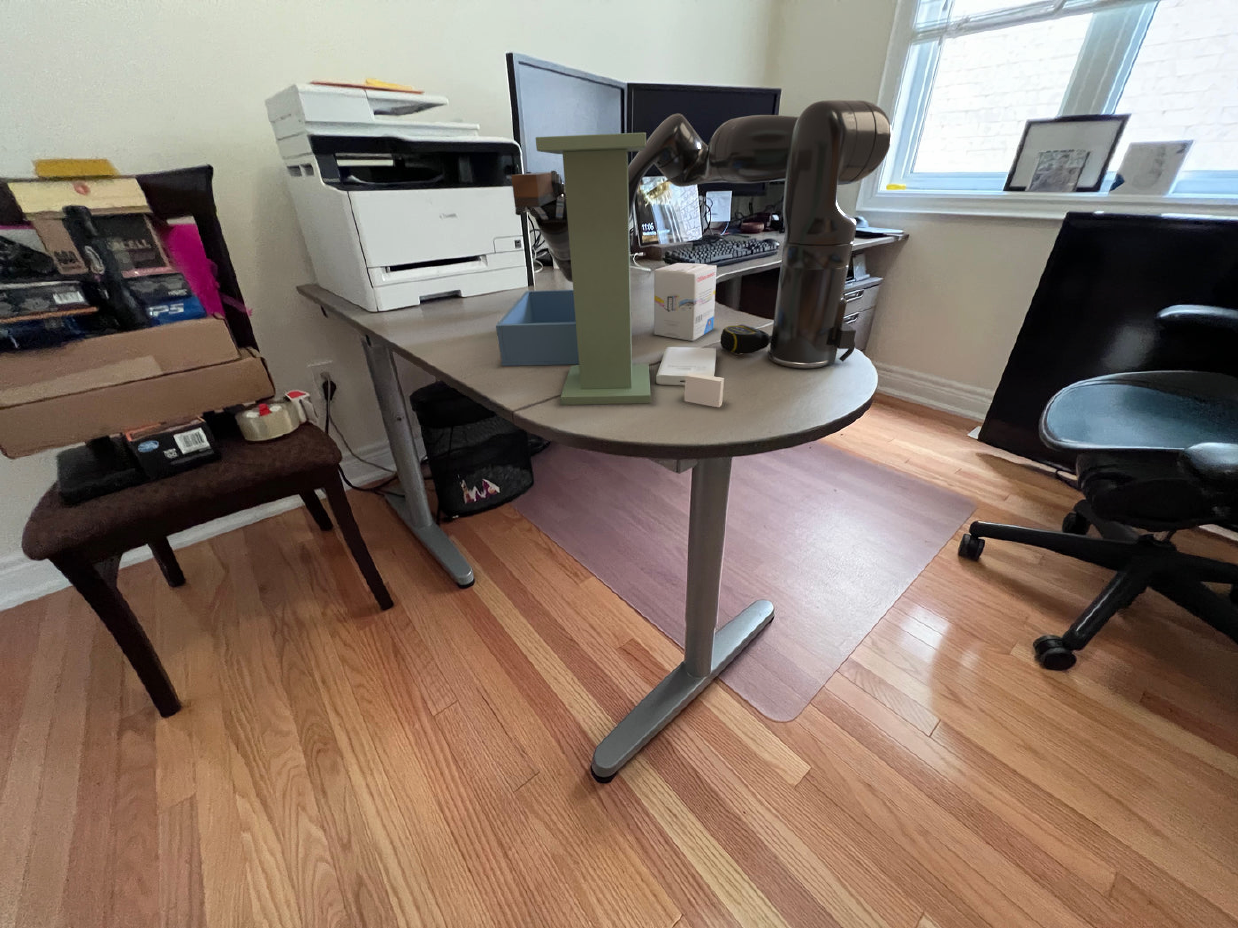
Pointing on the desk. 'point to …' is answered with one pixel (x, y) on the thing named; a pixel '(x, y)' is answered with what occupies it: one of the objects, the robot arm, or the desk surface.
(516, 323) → the tray
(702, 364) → the hard drive
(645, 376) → the stand
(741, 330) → the tape measure
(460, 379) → the desk surface
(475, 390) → the desk surface
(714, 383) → the eraser
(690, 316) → the ink box
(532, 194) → the block
